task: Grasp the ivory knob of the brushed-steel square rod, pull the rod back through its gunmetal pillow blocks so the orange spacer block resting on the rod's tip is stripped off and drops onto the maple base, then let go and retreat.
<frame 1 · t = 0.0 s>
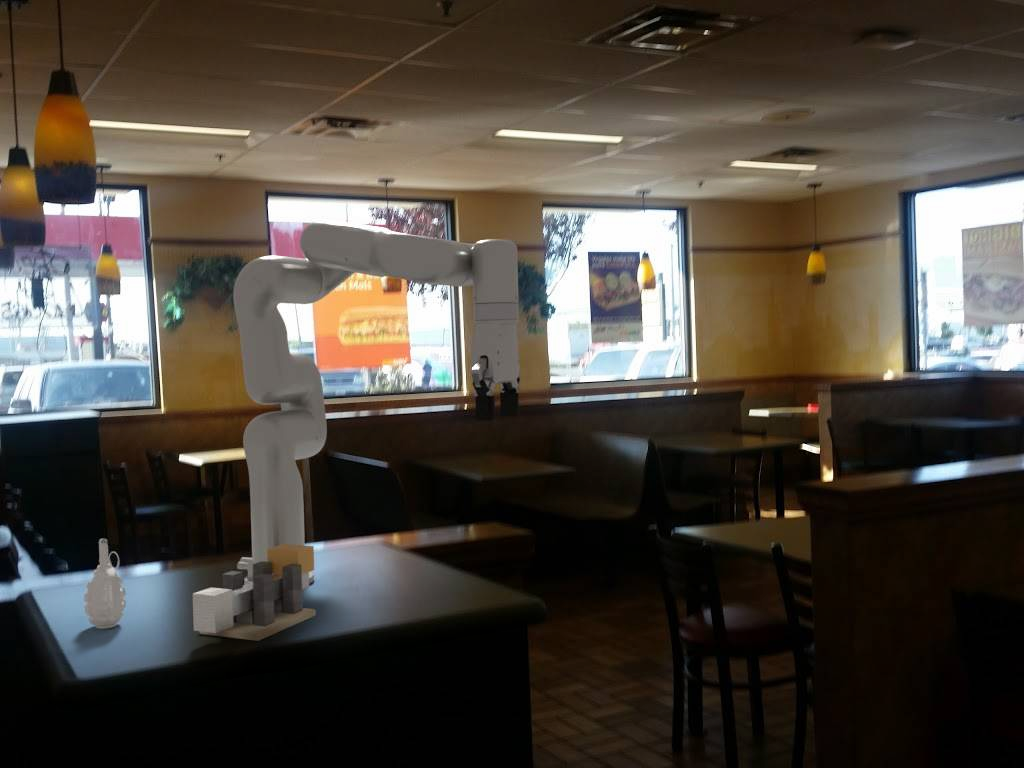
hand: (497, 418, 173), 31 cm above the table, fingers open, 9 cm apart
shaft: (256, 593, 164), point 5 cm above the table, slide at 0.0 cm, touching spacer
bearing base: (261, 623, 165), on the table
hand grenade: (108, 628, 164), on the table
spacer: (291, 571, 172), point 6 cm above the table, touching shaft
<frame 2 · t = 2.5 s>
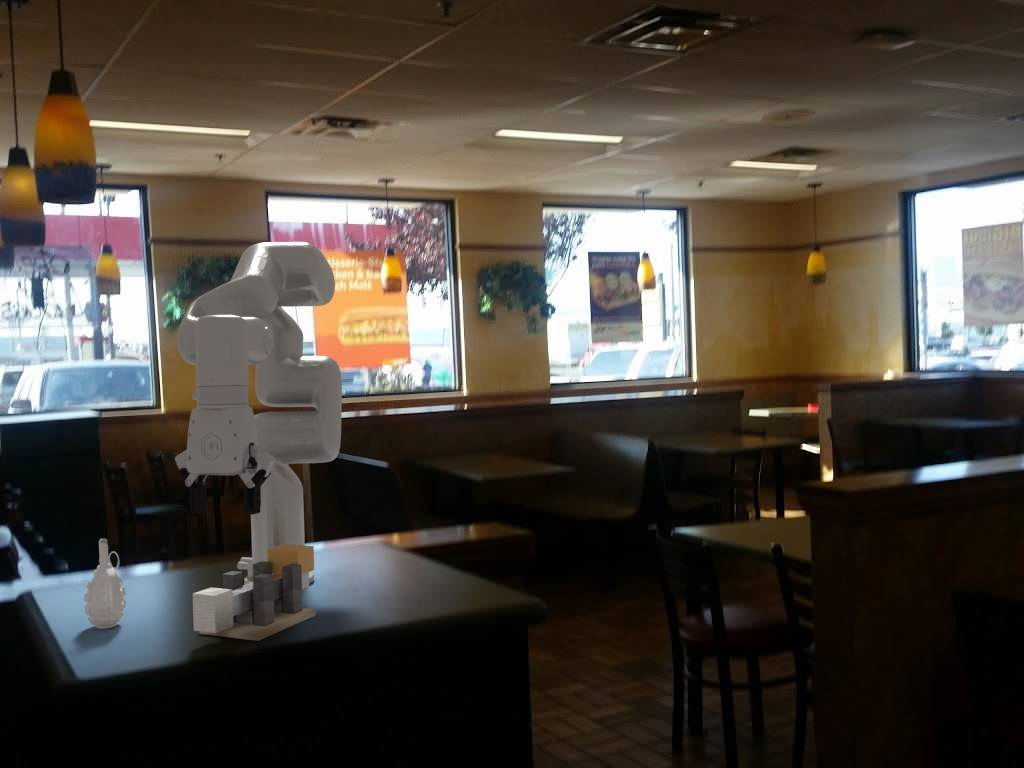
hand: (225, 513, 155), 19 cm above the table, fingers open, 9 cm apart
nothing on the table moved.
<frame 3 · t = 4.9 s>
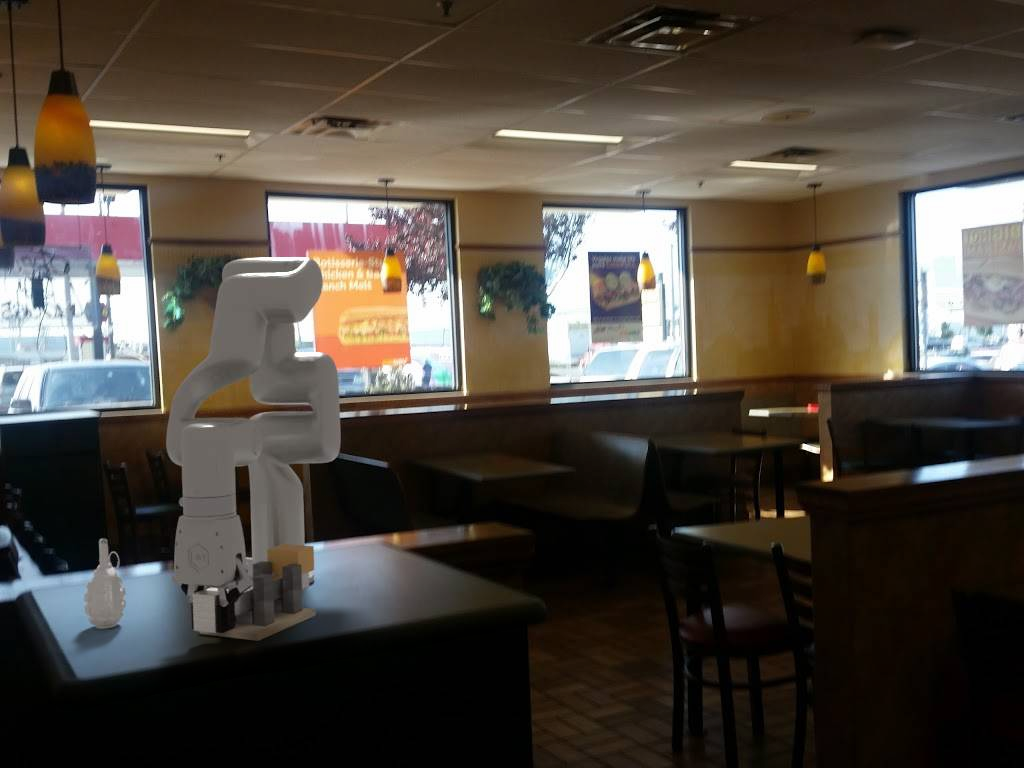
hand: (213, 627, 154), 2 cm above the table, fingers closed on shaft, 4 cm apart
shaft: (256, 593, 164), point 5 cm above the table, slide at 0.0 cm, touching gripper, spacer
everything else where it was.
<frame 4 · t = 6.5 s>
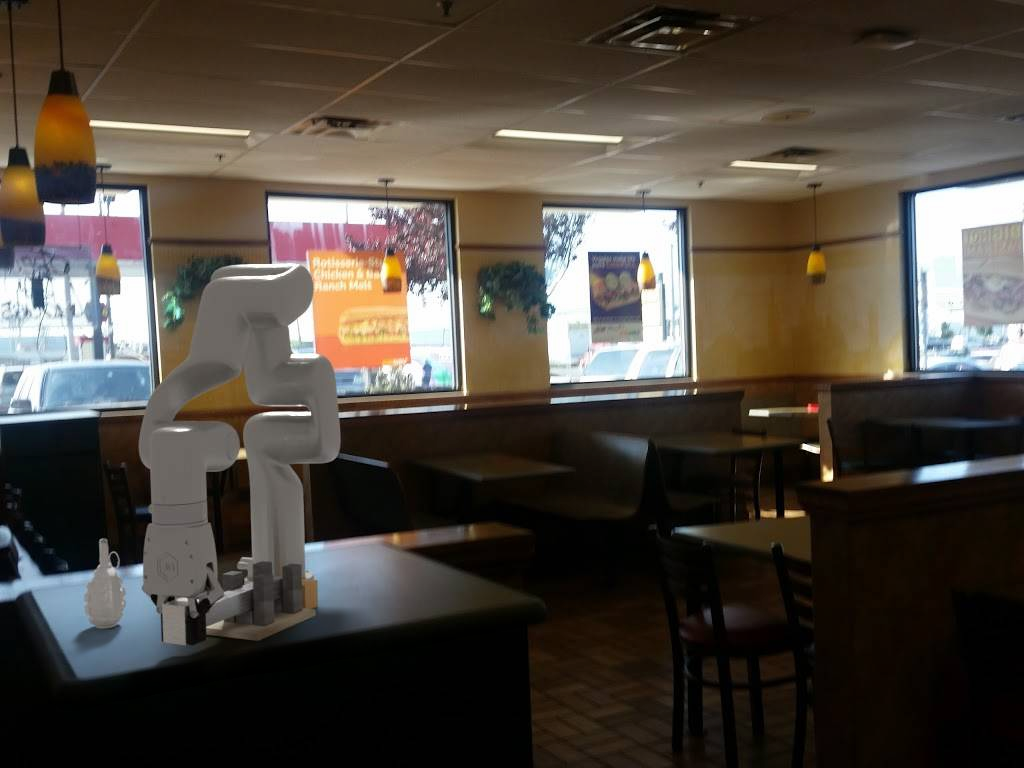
hand: (184, 639, 148), 2 cm above the table, fingers closed on shaft, 4 cm apart
shaft: (230, 603, 158), point 5 cm above the table, slide at 6.4 cm, touching gripper
spacer: (289, 597, 172), point 2 cm above the table, tilted 90°
everything else where it was.
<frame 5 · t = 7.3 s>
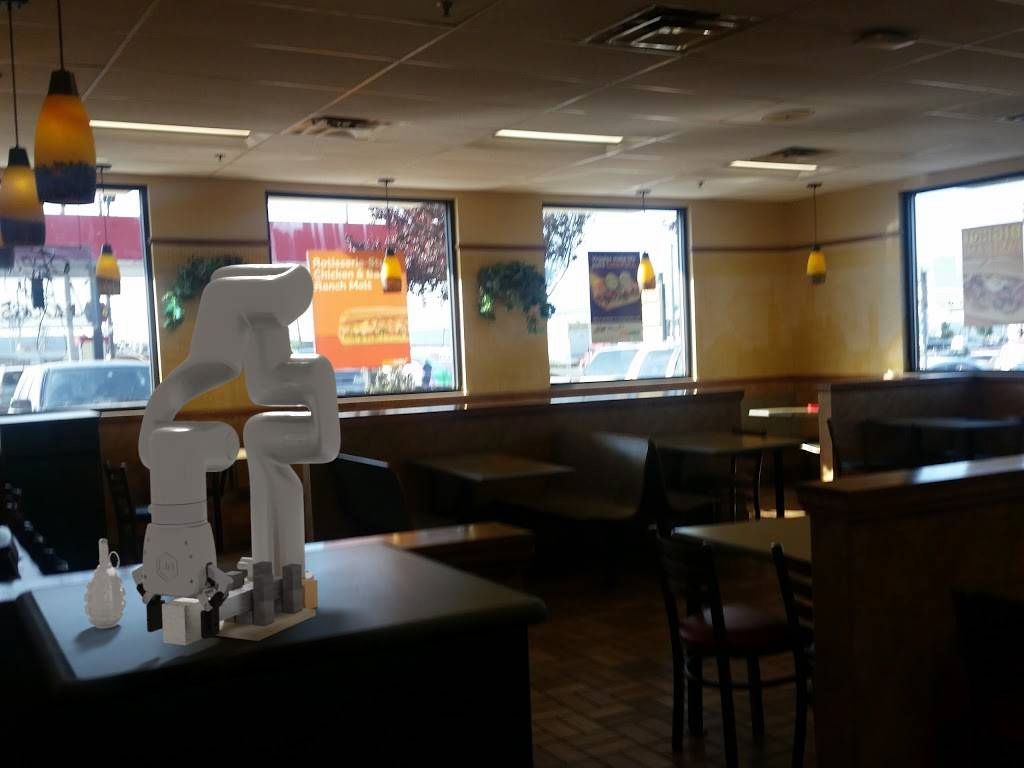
hand: (183, 633, 148), 3 cm above the table, fingers open, 9 cm apart
shaft: (229, 603, 158), point 5 cm above the table, slide at 6.4 cm
everything else where it was.
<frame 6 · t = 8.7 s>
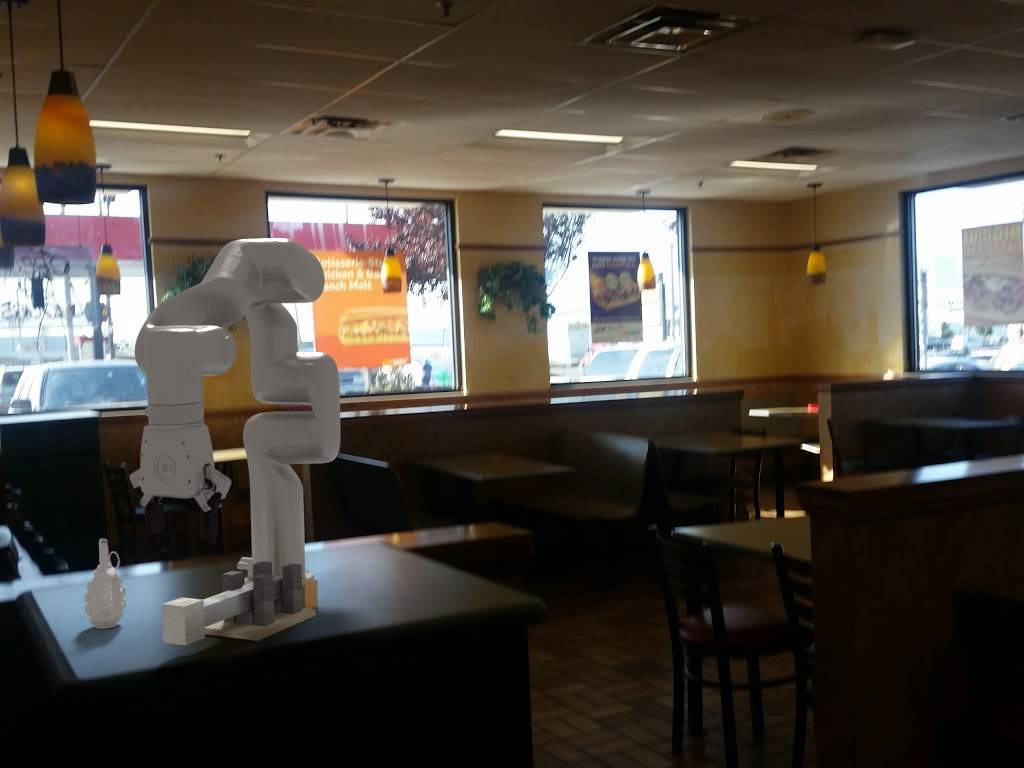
hand: (182, 534, 148), 17 cm above the table, fingers open, 9 cm apart
nothing on the table moved.
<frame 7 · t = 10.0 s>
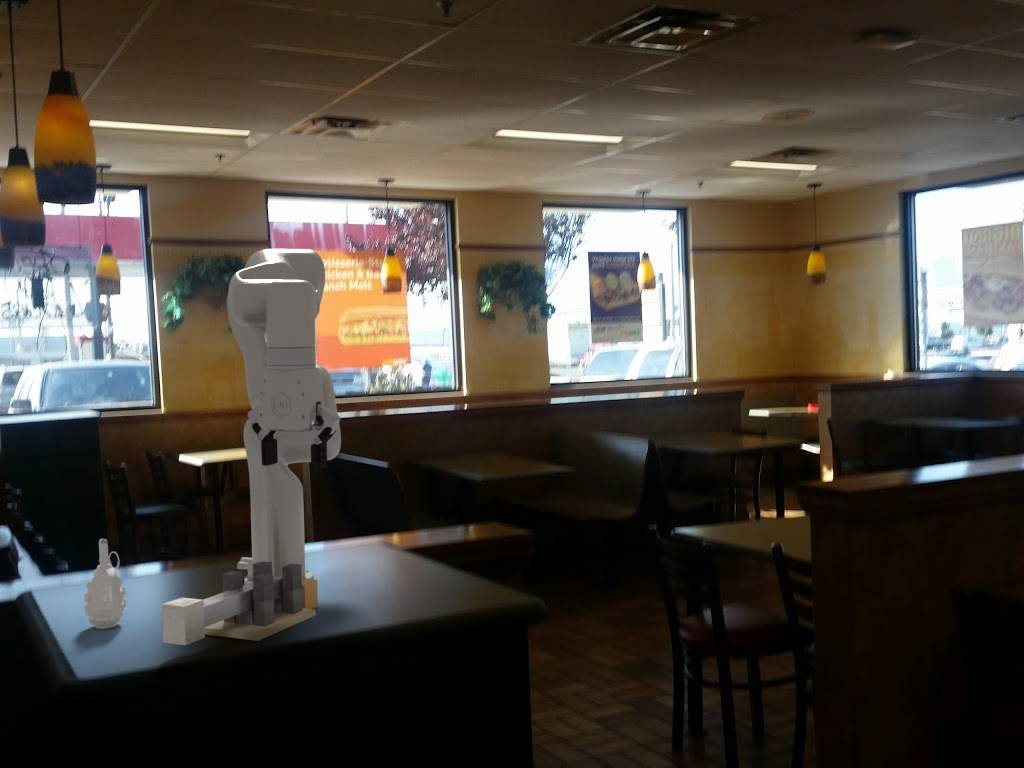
hand: (294, 466, 165), 25 cm above the table, fingers open, 9 cm apart
nothing on the table moved.
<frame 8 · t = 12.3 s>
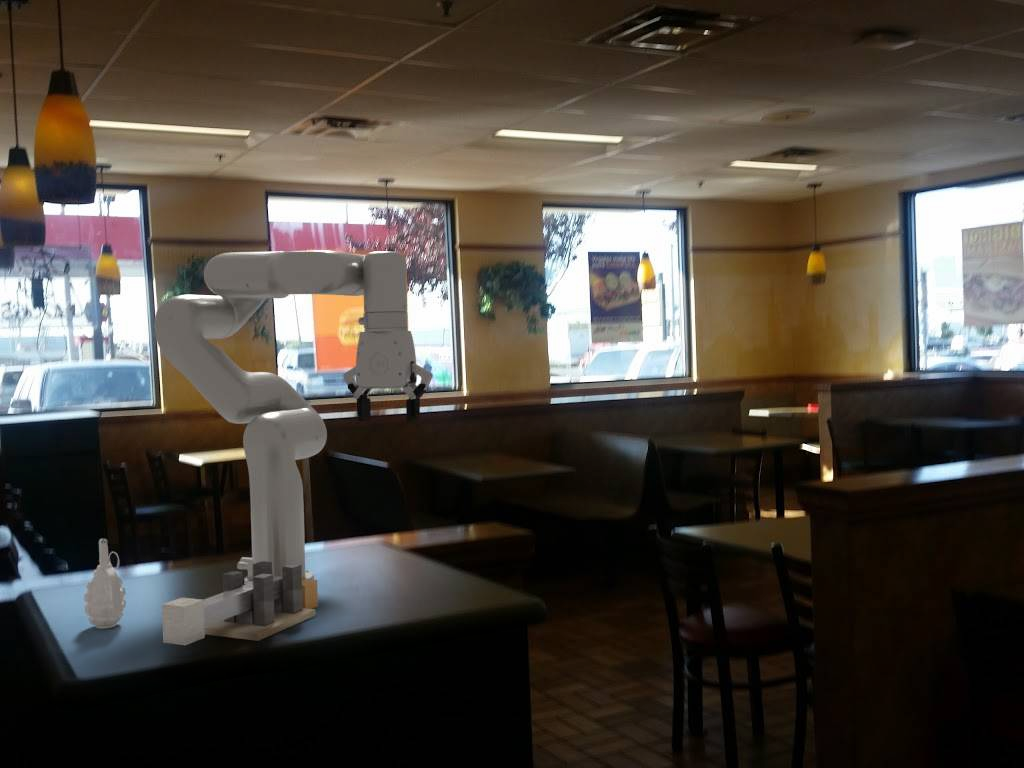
hand: (388, 421, 181), 30 cm above the table, fingers open, 9 cm apart
nothing on the table moved.
at the end: shaft slide at 6.4 cm; spacer point 2.1 cm above the table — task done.
